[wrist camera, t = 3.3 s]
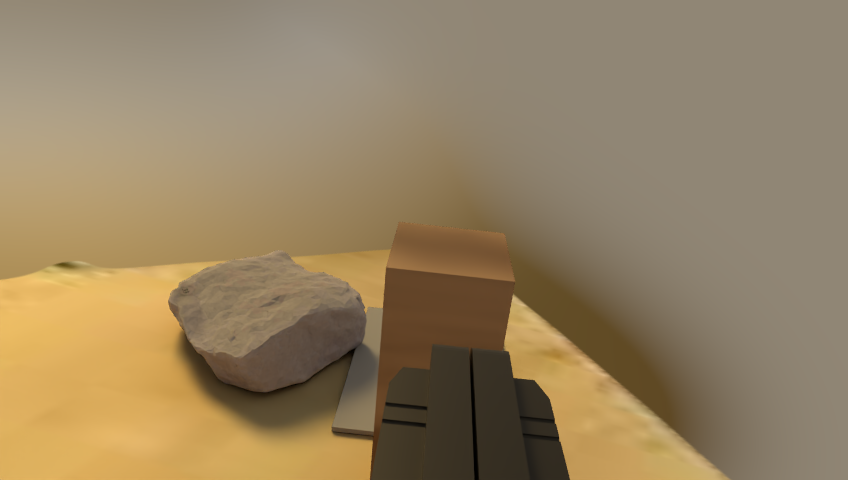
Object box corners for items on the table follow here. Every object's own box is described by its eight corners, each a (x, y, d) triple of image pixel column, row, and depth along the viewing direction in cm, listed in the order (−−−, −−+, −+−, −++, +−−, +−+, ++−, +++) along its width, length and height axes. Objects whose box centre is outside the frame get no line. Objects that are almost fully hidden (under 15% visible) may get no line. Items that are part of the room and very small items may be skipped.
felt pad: (515, 452, 29) (516, 448, 29) (331, 430, 29) (331, 426, 29) (498, 324, 41) (498, 321, 41) (368, 310, 41) (368, 306, 41)
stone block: (257, 433, 30) (381, 337, 37) (234, 370, 28) (371, 279, 34) (161, 350, 38) (279, 282, 44) (137, 294, 35) (265, 230, 41)
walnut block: (467, 543, 24) (515, 281, 19) (366, 531, 24) (386, 267, 19) (465, 465, 28) (504, 233, 23) (379, 455, 28) (398, 221, 23)
